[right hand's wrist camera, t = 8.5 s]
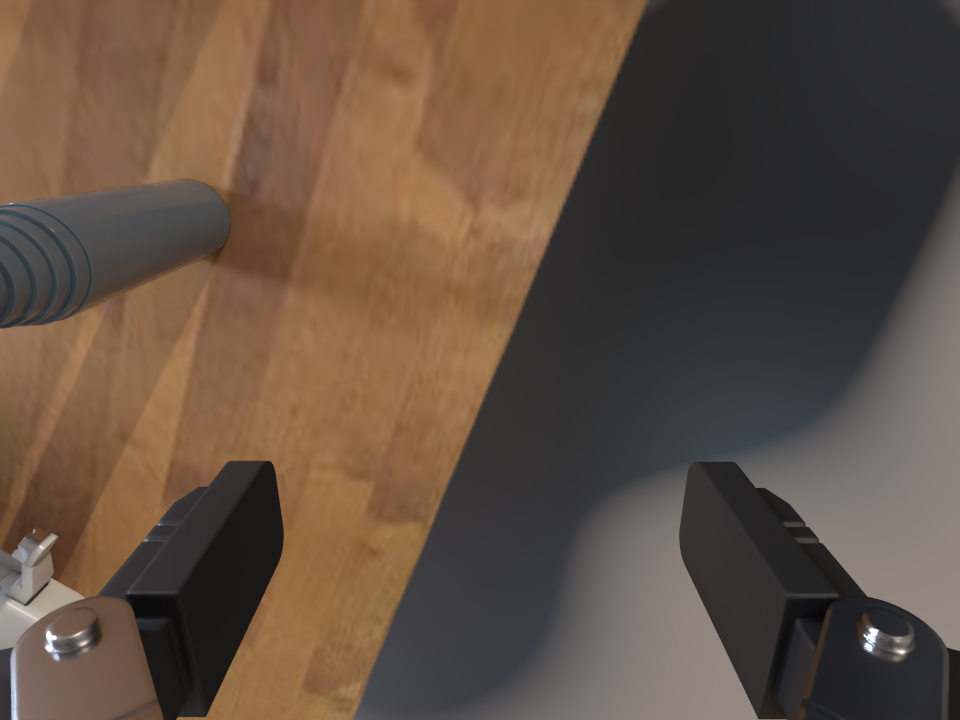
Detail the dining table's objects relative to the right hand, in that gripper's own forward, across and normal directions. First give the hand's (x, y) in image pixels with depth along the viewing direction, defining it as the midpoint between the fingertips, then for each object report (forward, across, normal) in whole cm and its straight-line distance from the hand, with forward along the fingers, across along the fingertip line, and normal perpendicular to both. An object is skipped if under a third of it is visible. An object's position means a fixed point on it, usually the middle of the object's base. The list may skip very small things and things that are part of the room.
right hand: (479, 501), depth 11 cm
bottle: (+29, +19, -2) cm, 35 cm away
